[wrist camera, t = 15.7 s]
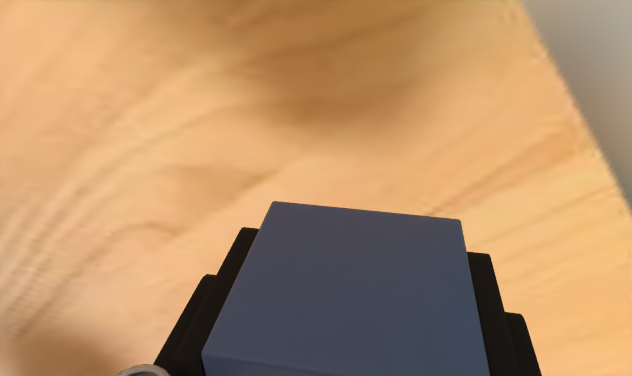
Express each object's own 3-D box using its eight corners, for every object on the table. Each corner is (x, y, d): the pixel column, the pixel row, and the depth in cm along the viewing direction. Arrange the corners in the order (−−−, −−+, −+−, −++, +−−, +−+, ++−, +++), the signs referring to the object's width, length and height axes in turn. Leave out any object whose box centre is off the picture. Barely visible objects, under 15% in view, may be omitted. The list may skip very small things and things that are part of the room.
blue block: (272, 199, 10) (198, 352, 7) (461, 218, 10) (496, 399, 6) (279, 324, 13) (228, 490, 9) (432, 346, 12) (446, 534, 8)
